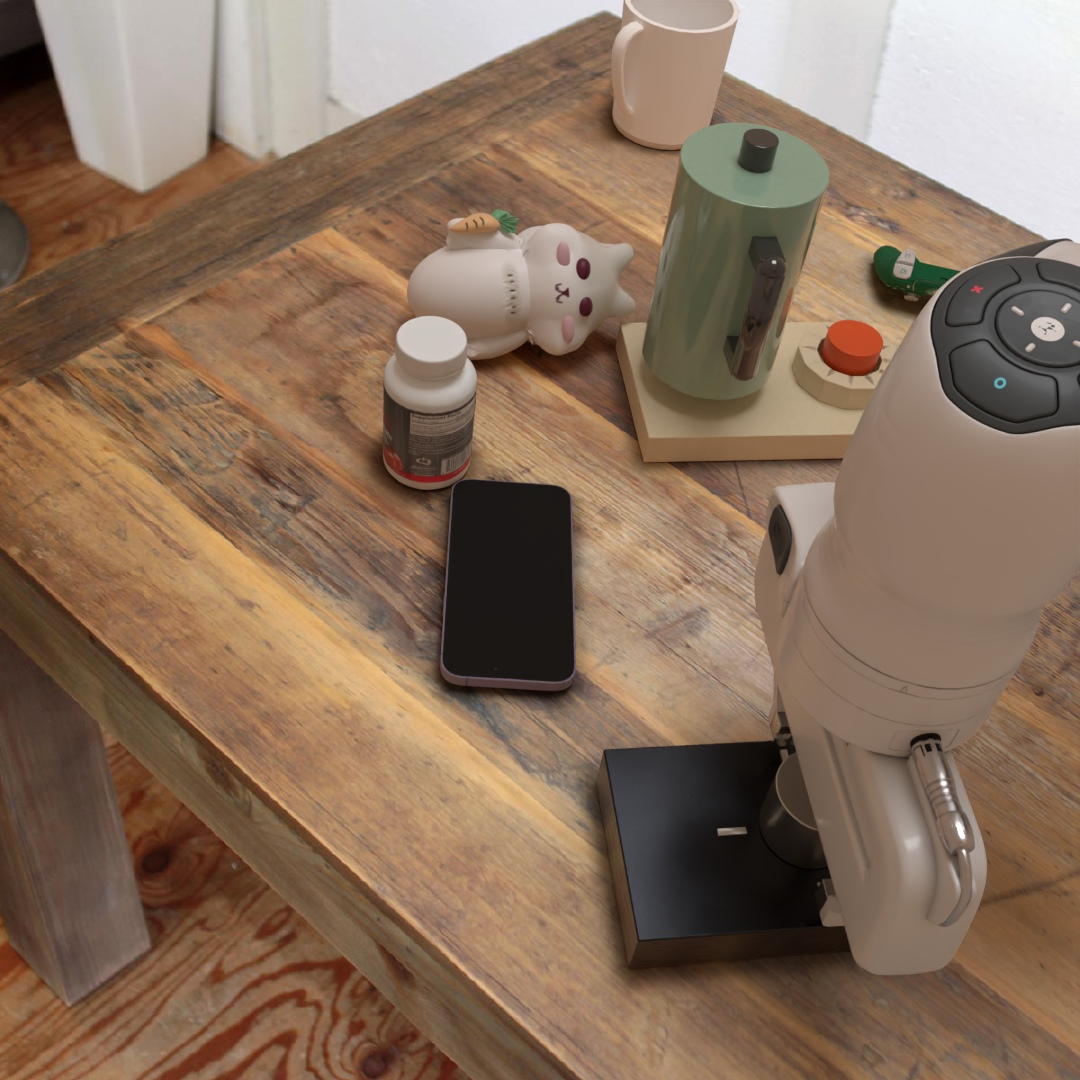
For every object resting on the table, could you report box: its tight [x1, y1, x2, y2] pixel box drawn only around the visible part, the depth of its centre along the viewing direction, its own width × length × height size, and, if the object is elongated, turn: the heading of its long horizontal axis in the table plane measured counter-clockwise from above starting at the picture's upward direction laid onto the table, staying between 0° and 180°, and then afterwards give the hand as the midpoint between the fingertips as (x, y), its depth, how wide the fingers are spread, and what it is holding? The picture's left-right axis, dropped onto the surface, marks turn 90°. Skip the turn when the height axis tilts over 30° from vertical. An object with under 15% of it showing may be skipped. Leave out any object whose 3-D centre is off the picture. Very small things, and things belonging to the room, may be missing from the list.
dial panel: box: [595, 739, 851, 970], centre depth 64 cm, size 14×10×3 cm
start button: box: [821, 319, 883, 376], centre depth 86 cm, size 4×4×2 cm
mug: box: [610, 0, 741, 151], centre depth 106 cm, size 11×9×10 cm
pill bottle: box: [382, 316, 478, 491], centre depth 78 cm, size 5×5×10 cm
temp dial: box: [759, 752, 828, 869], centre depth 62 cm, size 4×4×4 cm
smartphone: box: [439, 478, 577, 692], centre depth 75 cm, size 7×1×15 cm
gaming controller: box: [872, 244, 962, 302], centre depth 97 cm, size 9×4×6 cm
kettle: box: [642, 122, 830, 400], centre depth 79 cm, size 8×14×16 cm, turn 7°
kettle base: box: [615, 321, 896, 463], centre depth 87 cm, size 17×11×4 cm, turn 97°
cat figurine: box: [406, 209, 637, 361], centre depth 88 cm, size 10×8×15 cm
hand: (809, 818), depth 63 cm, fingers open, 8 cm apart
